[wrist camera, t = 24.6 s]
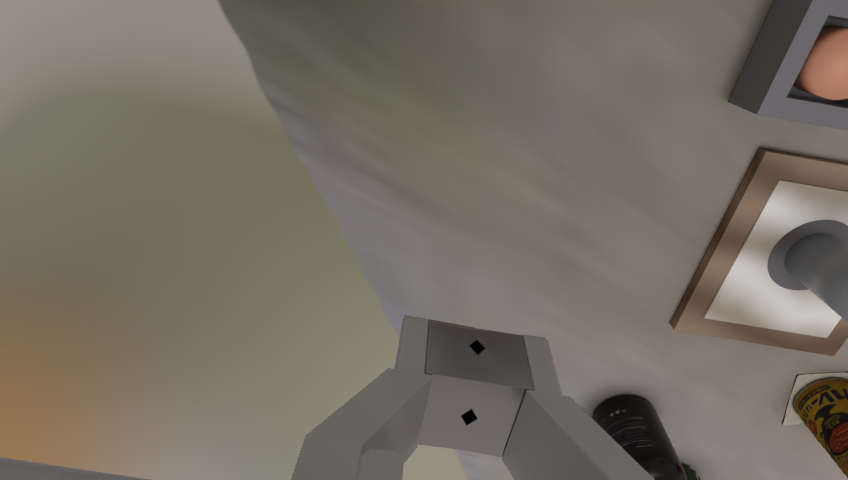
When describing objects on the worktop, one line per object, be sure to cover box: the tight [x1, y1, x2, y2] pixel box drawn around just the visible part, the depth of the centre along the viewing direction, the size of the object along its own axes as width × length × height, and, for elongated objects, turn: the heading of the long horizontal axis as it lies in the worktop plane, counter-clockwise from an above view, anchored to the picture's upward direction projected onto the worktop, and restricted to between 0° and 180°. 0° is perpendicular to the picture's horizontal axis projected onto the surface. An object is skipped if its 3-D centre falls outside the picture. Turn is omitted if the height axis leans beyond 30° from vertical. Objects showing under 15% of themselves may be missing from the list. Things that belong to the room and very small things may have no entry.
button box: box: [728, 0, 848, 130], centre depth 34 cm, size 8×8×4 cm
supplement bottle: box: [593, 396, 687, 480], centre depth 48 cm, size 7×7×12 cm
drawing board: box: [670, 148, 848, 356], centre depth 43 cm, size 18×16×1 cm
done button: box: [793, 26, 848, 100], centre depth 33 cm, size 4×4×3 cm
